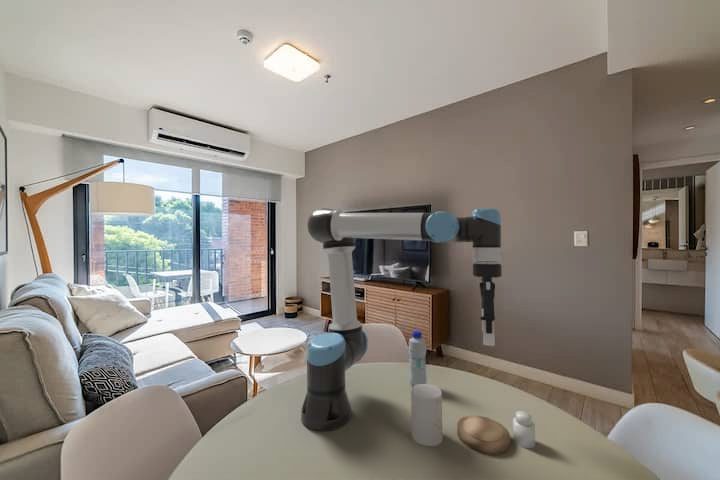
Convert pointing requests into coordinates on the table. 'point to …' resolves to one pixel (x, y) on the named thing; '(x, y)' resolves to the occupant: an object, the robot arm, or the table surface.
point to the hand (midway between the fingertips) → (487, 337)
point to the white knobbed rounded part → (524, 430)
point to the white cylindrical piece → (426, 414)
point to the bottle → (417, 359)
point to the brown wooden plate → (483, 434)
